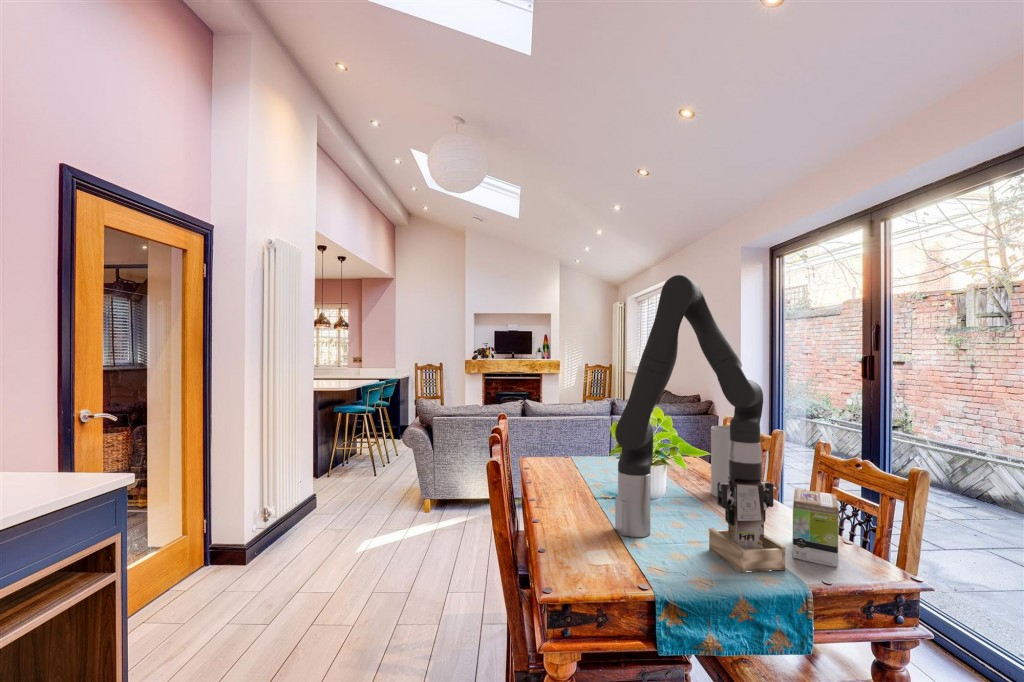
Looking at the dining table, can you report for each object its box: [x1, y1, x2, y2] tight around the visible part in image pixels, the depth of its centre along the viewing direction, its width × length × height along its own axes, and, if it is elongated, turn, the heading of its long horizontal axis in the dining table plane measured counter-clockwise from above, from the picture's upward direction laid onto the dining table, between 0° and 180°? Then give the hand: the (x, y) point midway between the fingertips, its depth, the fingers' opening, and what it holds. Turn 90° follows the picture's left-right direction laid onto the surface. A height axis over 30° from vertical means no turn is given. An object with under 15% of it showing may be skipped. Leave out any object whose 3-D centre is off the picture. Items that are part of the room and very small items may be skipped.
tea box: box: [791, 488, 840, 568], centre depth 125 cm, size 15×10×15 cm, turn 148°
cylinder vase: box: [710, 425, 730, 499], centre depth 176 cm, size 12×12×25 cm
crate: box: [708, 527, 787, 573], centre depth 121 cm, size 12×14×6 cm
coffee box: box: [727, 476, 765, 550], centre depth 121 cm, size 9×6×16 cm
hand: (745, 524), depth 121 cm, fingers closed on coffee box, 7 cm apart
